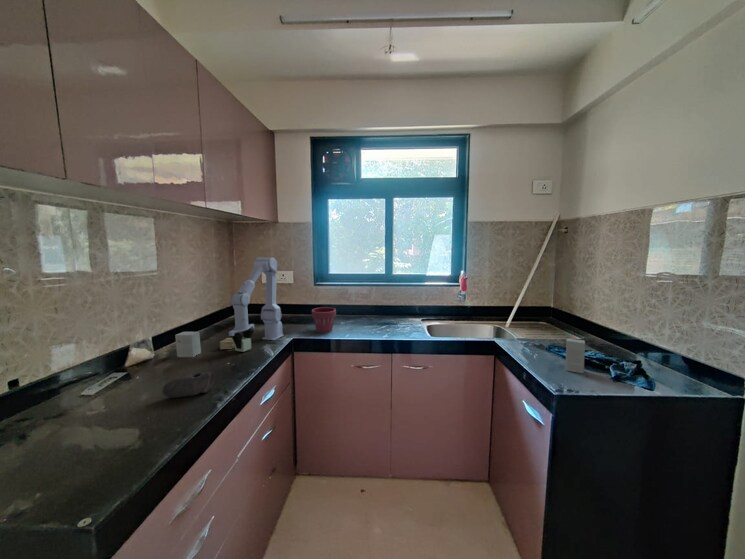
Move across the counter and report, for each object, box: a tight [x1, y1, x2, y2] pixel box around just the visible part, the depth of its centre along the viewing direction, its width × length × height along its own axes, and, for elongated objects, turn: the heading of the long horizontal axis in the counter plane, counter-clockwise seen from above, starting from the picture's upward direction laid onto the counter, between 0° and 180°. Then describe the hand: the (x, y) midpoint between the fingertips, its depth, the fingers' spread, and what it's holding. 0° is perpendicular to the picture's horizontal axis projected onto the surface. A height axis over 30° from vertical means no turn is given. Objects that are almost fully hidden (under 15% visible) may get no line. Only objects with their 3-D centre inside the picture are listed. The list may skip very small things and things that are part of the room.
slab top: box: [219, 337, 235, 347], centre depth 148 cm, size 6×6×2 cm
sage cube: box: [234, 336, 252, 353], centre depth 143 cm, size 5×5×5 cm
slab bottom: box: [219, 345, 235, 350], centre depth 148 cm, size 6×6×2 cm
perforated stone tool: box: [161, 371, 215, 399], centre depth 100 cm, size 15×5×7 cm, turn 111°
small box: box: [174, 331, 202, 358], centre depth 138 cm, size 8×6×10 cm
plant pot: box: [311, 306, 337, 334], centre depth 177 cm, size 14×14×13 cm
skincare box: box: [564, 338, 586, 374], centre depth 117 cm, size 6×4×12 cm
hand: (243, 346), depth 144 cm, fingers closed on sage cube, 5 cm apart
